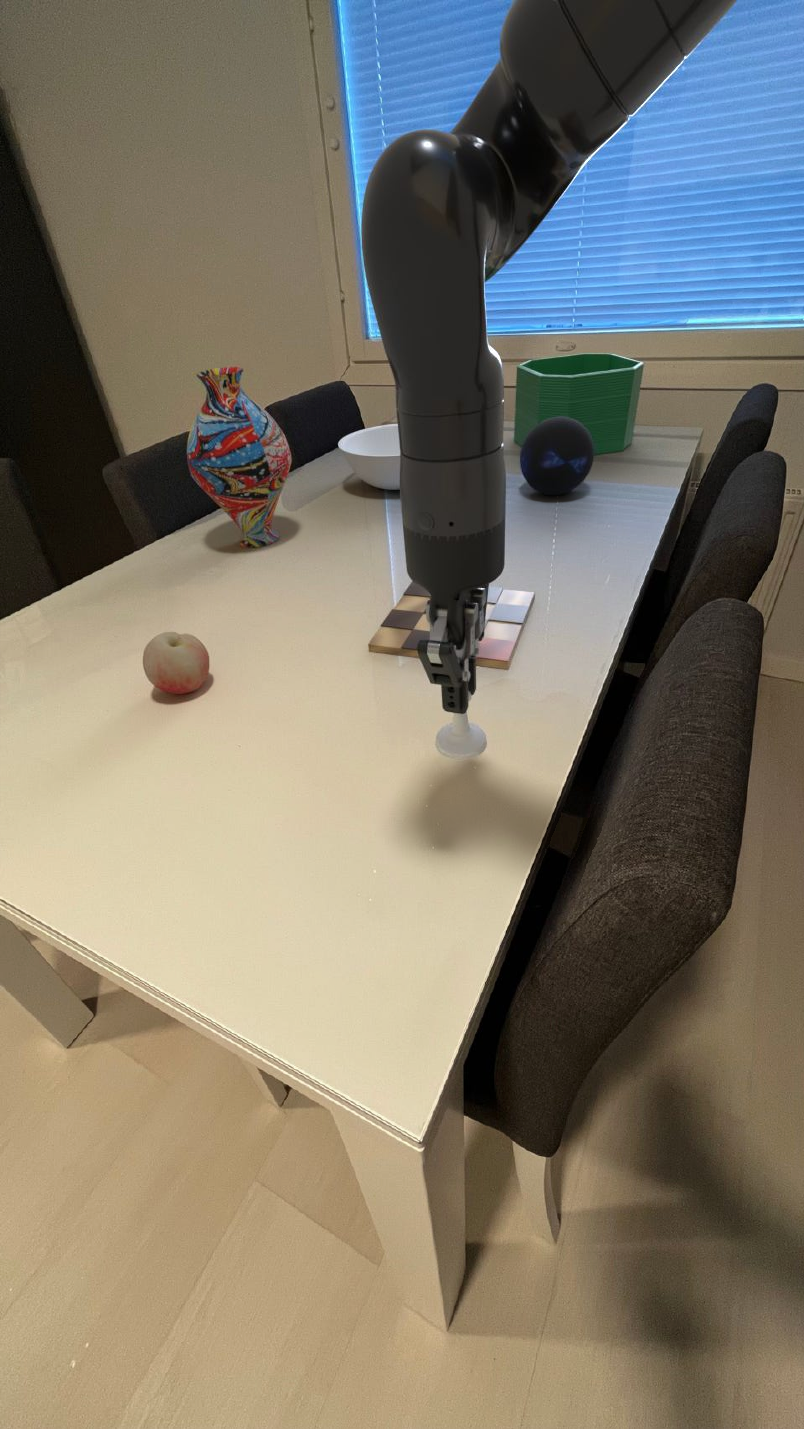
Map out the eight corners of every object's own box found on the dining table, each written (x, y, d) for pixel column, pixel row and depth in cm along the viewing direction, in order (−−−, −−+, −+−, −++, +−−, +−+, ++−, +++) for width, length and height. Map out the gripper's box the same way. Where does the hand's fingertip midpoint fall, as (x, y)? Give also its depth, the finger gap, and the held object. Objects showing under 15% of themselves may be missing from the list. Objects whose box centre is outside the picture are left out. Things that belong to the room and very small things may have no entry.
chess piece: (490, 729, 59) (490, 641, 53) (483, 763, 55) (482, 673, 49) (440, 724, 60) (435, 638, 54) (430, 757, 56) (423, 669, 50)
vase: (270, 515, 132) (237, 358, 114) (323, 534, 121) (296, 364, 103) (194, 543, 123) (144, 378, 104) (244, 567, 111) (198, 386, 93)
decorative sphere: (508, 487, 135) (511, 414, 126) (572, 478, 137) (579, 405, 127) (532, 509, 123) (537, 431, 114) (601, 499, 125) (612, 421, 116)
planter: (642, 448, 150) (656, 365, 138) (543, 462, 147) (549, 379, 135) (594, 424, 170) (603, 350, 158) (506, 437, 167) (509, 362, 155)
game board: (534, 599, 94) (535, 590, 93) (507, 669, 80) (508, 661, 79) (413, 587, 100) (413, 579, 99) (368, 651, 86) (367, 643, 85)
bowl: (321, 496, 140) (314, 451, 133) (381, 461, 157) (377, 420, 151) (425, 509, 128) (422, 460, 122) (477, 470, 146) (477, 426, 140)
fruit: (200, 706, 78) (182, 654, 73) (145, 703, 80) (123, 652, 75) (224, 671, 85) (209, 621, 80) (172, 669, 86) (154, 620, 81)
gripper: (480, 554, 38) (482, 758, 48) (523, 482, 48) (516, 664, 58) (370, 548, 40) (394, 743, 51) (432, 480, 50) (442, 655, 61)
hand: (459, 700), depth 54 cm, fingers closed on chess piece
